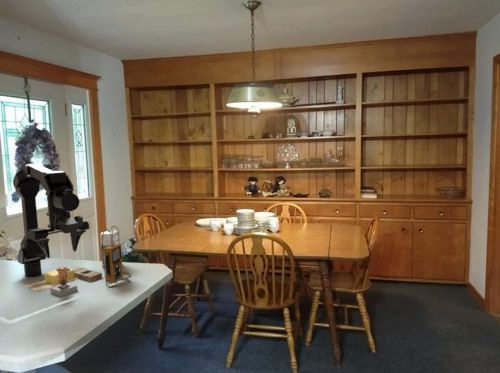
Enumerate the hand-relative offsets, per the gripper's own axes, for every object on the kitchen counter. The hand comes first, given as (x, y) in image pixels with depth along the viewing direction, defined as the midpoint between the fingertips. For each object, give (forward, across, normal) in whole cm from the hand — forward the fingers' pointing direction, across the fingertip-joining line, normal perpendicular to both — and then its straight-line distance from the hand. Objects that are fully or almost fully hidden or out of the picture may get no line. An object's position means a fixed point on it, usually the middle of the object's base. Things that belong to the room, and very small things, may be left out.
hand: (61, 254), depth 131 cm
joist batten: (+13, +12, +9) cm, 20 cm away
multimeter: (+14, +19, -7) cm, 24 cm away
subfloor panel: (+13, +2, +13) cm, 19 cm away
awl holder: (+14, 0, 0) cm, 14 cm away
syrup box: (+13, +27, +13) cm, 33 cm away
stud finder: (+12, +5, +13) cm, 19 cm away
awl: (+14, 0, 0) cm, 14 cm away
